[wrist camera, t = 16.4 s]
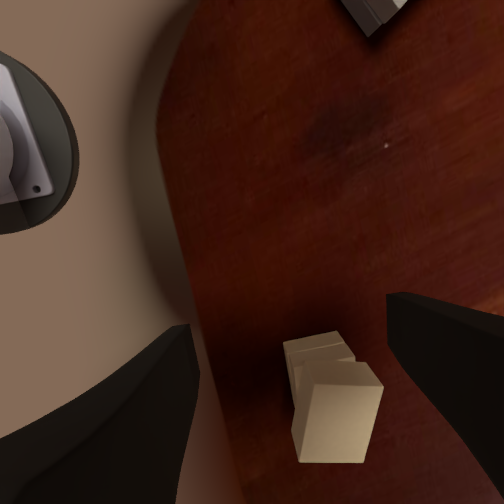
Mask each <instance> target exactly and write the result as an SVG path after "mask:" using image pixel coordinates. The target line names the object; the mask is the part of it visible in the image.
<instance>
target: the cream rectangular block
mask: <svg viewBox="0 0 504 504" xmlns="http://www.w3.org/2000/svg"><path fill="white" fill-rule="evenodd" d="M383 388H384V387H383V385H382V384H381V382H380V381H379V380H378V378H377V377H376V376H375V374H374V373H373V372H372V370H371V369H370V368H369V366H368V365H367V363H366V362H349V361H328V360H306V359H305V360H304V363H303V368H302V374H301V379H300V385H299V390H298V396H297V401H296V407H295V412H294V418H293V423H292V429H291V432H292V436H293V440H294V444H295V448H296V452H297V456H298V460H299V462H316V463H363V462H364V458H365V454H366V451H367V447H368V443H369V440H370V436H371V432H372V429H373V425H374V421H375V418H376V414H377V410H378V407H379V403H380V399H381V396H382V392H383Z"/></svg>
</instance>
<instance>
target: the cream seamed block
mask: <svg viewBox="0 0 504 504" xmlns="http://www.w3.org/2000/svg"><path fill="white" fill-rule="evenodd" d="M283 347H284V352H285V358H286V363H287V369H288V375H289V380H290V386H291V391H292V397H293V403H294V406H295V407H296V401H297V396H298V390H299V385H300V379H301V374H302V368H303V363H304V360H305V359H306V360H328V361H349V362H355V356H354V354H353V353H352V351H351V350H350V349H349V347H348V346H347V344H346V343H345V342H344V340H343V339H342V337H341V336H340V335H339V333H338V332H337V331H333V332H328V333H323V334H319V335H314V336H309V337H304V338H300V339H295V340H290V341H286V342H283Z"/></svg>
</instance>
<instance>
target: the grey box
mask: <svg viewBox="0 0 504 504" xmlns="http://www.w3.org/2000/svg"><path fill="white" fill-rule="evenodd" d="M406 1H407V0H341V2H342V3H343V4H344V6H345V7H346V8H347V10H348V11H349V12H350V14H351V15H352V17H353V18H354V19H355V21H356V22H357V23H358V25H359V26H360V28H361V29H362V30H363V32H364V33H365V34H366V36H367V37H369V36H370V35H371V34H372V33H373V32H374V31H375V30H376V29H377V28H378V27H379V26H380V25H381V24H382V23H384V24H385V23H386V22H387V21H388V20H389V19H390V18H391V17H392V16H393V15H394V14H395V13H396V12H397V11H398V10H399V9H400V8H401V7H402V6H403V5H404V4H405V3H406Z"/></svg>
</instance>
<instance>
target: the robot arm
mask: <svg viewBox="0 0 504 504" xmlns="http://www.w3.org/2000/svg"><path fill="white" fill-rule="evenodd" d="M37 186H39V187H40V188H41V191H40V193H39V192H38V191H37V190H36V187H37ZM54 191H55V187H54V184H53V181H52V178H51V176H50V173H49V170H48V168H47V165H46V162H45V160H44V157H43V154H42V151H41V149H40V146H39V143H38V141H37V138H36V135H35V133H34V130H33V127H32V124H31V122H30V119H29V116H28V114H27V111H26V108H25V106H24V103H23V100H22V97H21V95H20V92H19V89H18V87H17V84H16V81H15V79H14V76H13V73H12V71H11V70H10V69H9V68H8V67H7V66H5V65H2V64H0V204H5V203H10V202H15V201H20V200H26V199H31V198H36V197H41V196H46V195H51V194H53V193H54ZM386 303H387V340H388V346H389V347H390V349H391V351H392V352H393V354H394V356H395V357H396V359H397V360H398V362H399V363H400V365H401V366H402V368H403V369H404V370H405V371H406V373H407V374H408V375H409V376H410V378H411V379H412V380H413V381H414V382H415V384H416V385H417V386H418V387H419V388H420V389H421V391H422V392H423V393H424V394H425V395H426V396H427V398H428V399H429V400H430V401H431V402H432V404H433V405H434V406H435V407H436V408H437V409H438V411H439V412H440V413H441V414H442V415H443V416H444V418H445V419H446V420H447V421H448V422H449V423H450V425H451V426H452V427H453V428H454V430H455V431H456V432H457V433H458V435H459V436H460V437H461V439H462V440H463V441H464V443H465V444H466V445H467V447H468V448H469V450H470V451H471V452H472V454H473V455H474V457H475V458H476V460H477V461H478V462H479V464H480V465H481V467H482V468H483V469H484V471H485V472H486V474H487V475H488V477H489V478H490V480H491V481H492V482H493V484H494V485H495V487H496V488H497V490H498V491H499V493H500V494H501V496H502V497H503V499H504V317H503V316H499V315H495V314H490V313H486V312H482V311H478V310H474V309H470V308H467V307H463V306H459V305H455V304H452V303H448V302H444V301H441V300H437V299H433V298H430V297H426V296H422V295H418V294H413V293H408V292H399V293H392V294H386ZM199 378H200V370H199V365H198V361H197V356H196V352H195V348H194V343H193V338H192V333H191V329H190V324H184V325H177V326H172V327H171V328H169V329H168V330H166V331H165V332H164V333H163V334H161V335H160V336H159V337H158V338H157V339H155V340H154V341H153V342H152V343H151V344H149V345H148V346H147V347H146V348H145V349H143V350H142V351H141V352H140V353H138V354H137V355H136V356H135V357H134V358H132V359H131V360H130V361H128V362H127V363H126V364H124V365H123V366H122V367H121V368H119V369H118V370H116V371H115V372H114V373H113V374H111V375H110V376H108V377H107V378H106V379H104V380H103V381H101V382H100V383H98V384H97V385H95V386H94V387H92V388H91V389H89V390H88V391H86V392H85V393H83V394H81V395H80V396H78V397H77V398H75V399H74V400H72V401H70V402H69V403H66V404H65V405H63V406H61V407H60V408H58V409H56V410H54V411H52V412H50V413H49V414H47V415H45V416H43V417H42V418H40V419H38V420H36V421H34V422H32V423H30V424H29V425H27V426H25V427H23V428H21V429H19V430H17V431H15V432H13V433H11V434H9V435H7V436H5V437H2V438H0V504H175V502H176V495H177V488H178V481H179V476H180V471H181V466H182V462H183V458H184V453H185V449H186V444H187V441H188V436H189V432H190V428H191V424H192V419H193V416H194V411H195V407H196V402H197V397H198V389H199Z"/></svg>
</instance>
